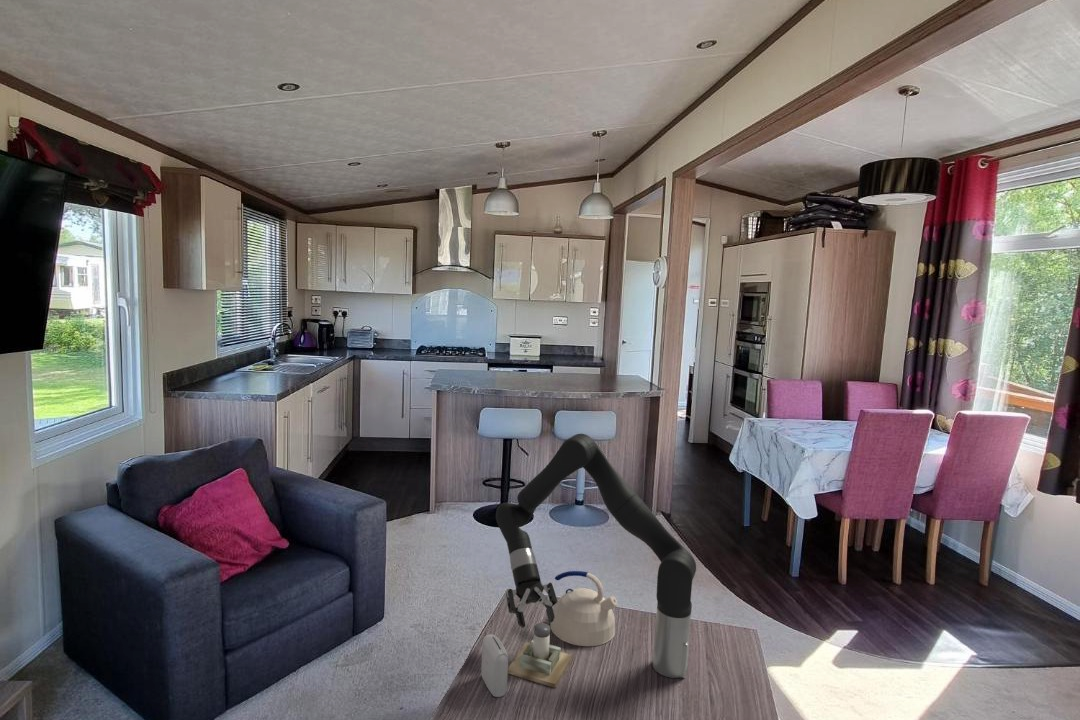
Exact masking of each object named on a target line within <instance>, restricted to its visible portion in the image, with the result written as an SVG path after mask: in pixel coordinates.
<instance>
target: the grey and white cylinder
mask: <svg viewBox="0 0 1080 720" xmlns="http://www.w3.org/2000/svg"><path fill="white" fill-rule="evenodd" d="M533 627H534V628H533V640H534V642H533V657H535V658H538V659H542V660H545V661H548V660H549V645H550V641H551V640H550V636H551V627H550V625H549V624H547V623H543V622H539V623H536V624H535V625H534V626H533Z"/></svg>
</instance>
